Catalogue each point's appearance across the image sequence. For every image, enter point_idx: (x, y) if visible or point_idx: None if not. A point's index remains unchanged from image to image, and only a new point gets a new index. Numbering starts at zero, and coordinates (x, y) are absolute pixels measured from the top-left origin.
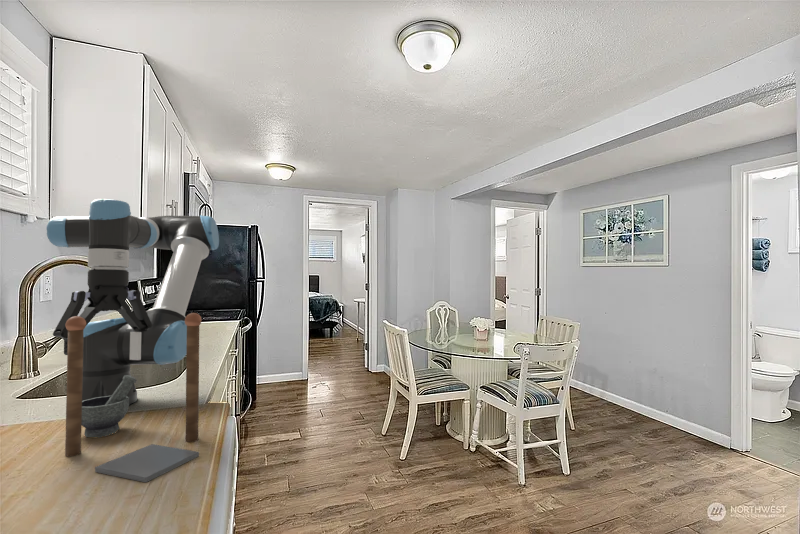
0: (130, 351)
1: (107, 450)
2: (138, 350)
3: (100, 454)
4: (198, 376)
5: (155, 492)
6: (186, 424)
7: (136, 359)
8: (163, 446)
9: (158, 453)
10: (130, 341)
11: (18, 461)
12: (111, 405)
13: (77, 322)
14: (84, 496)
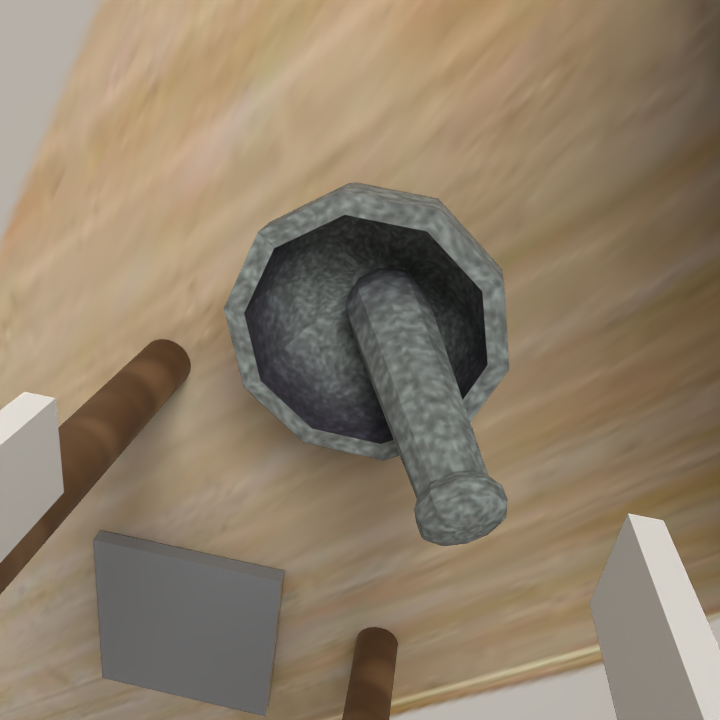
0: (647, 589)
1: (230, 451)
2: (616, 690)
3: (196, 454)
4: None
5: (86, 702)
6: (349, 687)
7: (594, 594)
8: (272, 621)
9: (223, 635)
10: (687, 702)
11: (50, 219)
12: (311, 442)
13: None
14: (11, 593)
